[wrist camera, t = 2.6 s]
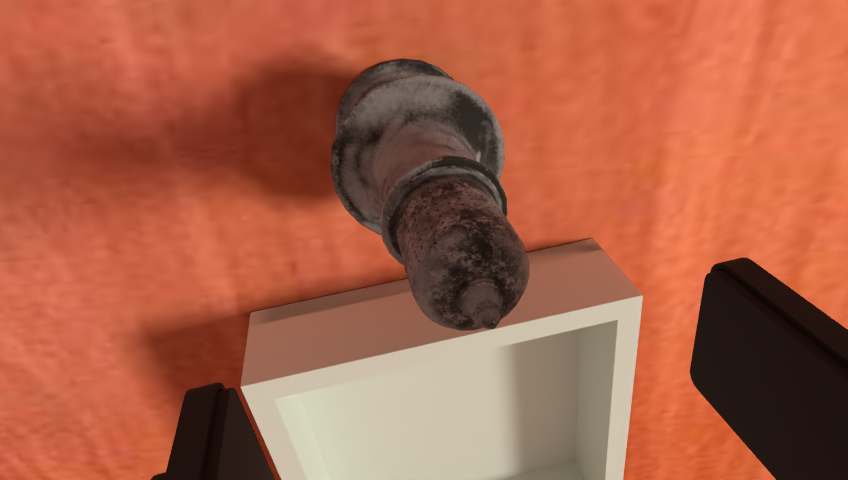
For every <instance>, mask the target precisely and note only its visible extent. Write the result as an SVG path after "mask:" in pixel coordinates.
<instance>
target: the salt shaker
mask: <svg viewBox="0 0 848 480" xmlns="http://www.w3.org/2000/svg"><path fill="white" fill-rule="evenodd" d="M335 135H336V136H335V139H334V142H333V145H332V152H331V174H332V178H333V182H334V187H335V191H336V193H337V195H338V197H339V198H340V200H341V202H342V204H343V205H344V207H345V209H346V210H347V211H348V212H349V213H350V214H351V215H352V216H353V217H354V218H355V219H356V220H357V221H358V222H359V223H360V224H361V225H363V226H365V227H367V228H368V229H370V230H372V231H374V232H376V233H377V234H380V235H382V239H383V242H384V243H385V245H386V247H387V249H388V251H389V253H390V254H391V255H392V256H393V257H394V258H395V259H396V260H397V261H398V262H399V263H400V264H402V265H404V266H405V270H406V273H407V277H408V280H409V284H410V288H411V291H412V295H413V297H414V299H415V301H416V302H417V304H418V306H419V308H420V309H421V310H422V312H423V313H424V314H425V315H426V316H427V317H428V318H429V319H430V320H431V321H433V322H435V323H437V324H439V325H441V326H443V327H446V328H451V329H456V330H460V331H471V330H477V329H482V328H486V329H495V328H496V327H497V325H498V324H499V323H500V320H501V319H503V318H504V317H505V316H507V315H508V314H509V313H510V312H511V311H512V310H513V309H514V308H515V306H516V305H517V304H518V302H519V300H520V298H521V297H522V295H523V293H524V292H525V290H526V287H527V283H528V280H529V260H528V256H527V253H526V250H525V247H524V244H523V242H522V241H521V239H520V238H519V236H518V235H517V233H516V232H515V230H514V229H513V227H512V226H511V224H510V223H509V221H508V220H507V218H506V216H507V198H506V196H505V193H504V190H503V187H502V184H501V183H500V182H499V180H500V177H501V173H502V168H503V164H504V159H505V156H504V137H503V134H502V131H501V128H500V126H499V123H498V120H497V117H496V116H495V114H494V113H493V111H492V110H491V109H490V107H489V106H488V104H487V103H486V102H485V100H484V99H483V98H482V97H480V96H479V95H478V94H476V93H475V92H474V91H473V90H471V89H470V88H469V87H467V86H466V85H464V84H462V83H459V82H457V81H454V80H453V78H451V77H450V76H449V75H448V74H446V73H445V72H444V71H442V70H441V69H440V68H439V67H436V66H434V65H431V64H429V63H426V62H424V61H420V60H410V59H399V60H393V61H387V62H383V63H381V64H379V65H377V66H375V67H373V68H370V69H368V70H366V71H365V72H364V73H363V74H362V75H361V76H359V77H358V78H357V79H356V80H355V81H354V82H352V84H351V85H350V87H349V88H348V90H347V91H346V93H345V94H344V96H343V97H342V99H341V102H340V105H339V108H338V111H337V114H336V125H335Z"/></svg>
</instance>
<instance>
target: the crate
mask: <svg viewBox="0 0 848 480" xmlns="http://www.w3.org/2000/svg"><path fill="white" fill-rule="evenodd" d="M527 256H528V260H529V280H528V283H527V287H526V290H525V292H524V293H523V295H522V297H521V298H520V300H519V302H518V304H517V305H516V306H515V308H514V309H513V310H512V311H511V312H510V313H509V314H508V315H507V316H505V317H504V318H503V319H501V320H500V323H499V324H498V325H497V327H496V328H495V329H486V328H482V329H477V330H471V331H460V330H456V329H451V328H446V327H443V326H441V325H439V324H437V323H435V322H433V321H431V320H430V319H429V318H428V317H427V316H426V315H425V314H424V313H423V312H422V310H421V309H420V308H419V306H418V304H417V302H416V301H415V299H414V297H413V295H412V291H411V288H410V284H409V280H408V278H407V279H403V280H398V281H394V282H389V283H384V284H380V285H375V286H370V287H366V288H361V289H357V290H352V291H347V292H343V293H338V294H333V295H329V296H324V297H320V298H315V299H310V300H306V301H301V302H296V303H292V304H287V305H283V306H278V307H273V308H269V309H264V310H260V311H255V312H251V314H250V321H249V329H248V336H247V343H246V350H245V357H244V365H243V372H242V379H241V386H240V387H241V389H242V392H243V394H244V396H245V398H246V401H247V403H248V405H249V408H250V410H251V412H252V414H253V417H254V419H255V421H256V423H257V426H258V428H259V430H260V432H261V435H262V437H263V439H264V441H265V444H266V446H267V448H268V450H269V453H270V455H271V457H272V459H273V462H274V464H275V466H276V468H277V471H278V473H279V475H280V477H281V480H623V475H624V465H625V456H626V447H627V438H628V429H629V419H630V410H631V401H632V392H633V383H634V374H635V364H636V355H637V346H638V337H639V328H640V318H641V309H642V300H643V295H642V293H641V292H640V291H639V290H638V289H637V288H636V287H635V285H634V284H633V283H632V282H631V281H630V280H629V279H628V278H627V276H626V275H625V274H624V273H623V272H622V271H621V270H620V268H619V267H618V266H617V265H616V264H615V263H614V262H613V261H612V259H611V258H610V257H609V256H608V255H607V254H606V253H605V251H604V250H603V249H602V248H601V247H600V246H599V245H598V244H597V242H596V241H595V240H594V239H593V238H592V239H588V240H583V241H578V242H574V243H569V244H565V245H560V246H555V247H551V248H546V249H541V250H537V251H532V252H528V253H527Z"/></svg>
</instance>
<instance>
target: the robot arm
mask: <svg viewBox="0 0 848 480" xmlns="http://www.w3.org/2000/svg"><path fill="white" fill-rule="evenodd" d="M690 375H691V378H692V381H693V383H694V385H695V387H696V388H697V389H698V390H699V391H700V393H701V394H702V395H703V396H704V397H705V398H706V400H707V401H708V402H709V403H710V404H711V405H712V406H713V408H714V409H715V410H716V411H717V412H718V413H719V414H720V416H721V417H722V418H723V419H724V420H725V421H726V422H727V424H728V425H729V426H730V427H731V428H732V429H733V430H734V432H735V433H736V434H737V435H738V436H739V437H740V439H741V440H742V441H743V442H744V443H745V444H746V445H747V447H748V448H749V449H750V450H751V451H752V452H753V453H754V455H755V456H756V457H757V458H758V459H759V460H760V461H761V463H762V464H763V465H764V466H765V467H766V468H767V469H768V471H769V472H770V473H771V474H772V475H773V476H774V477H775V479H776V480H848V330H847V329H846V328H844V327H843V326H842V325H840V324H839V323H837V322H836V321H835V320H833V319H832V318H831V317H829V316H828V315H826V314H825V313H824V312H822V311H821V310H819V309H818V308H817V307H815V306H814V305H813V304H811V303H810V302H808V301H807V300H806V299H804V298H803V297H802V296H800V295H799V294H797V293H796V292H795V291H793V290H792V289H791V288H789V287H788V286H786V285H785V284H784V283H782V282H781V281H780V280H778V279H777V278H775V277H774V276H773V275H771V274H770V273H768V272H767V271H766V270H764V269H763V268H762V267H760V266H759V265H757V264H756V263H755V262H753V261H752V260H750V259H748V258H738V259H734V260H730V261H726V262H722V263H718V264H715V265H714V266H713V267H712V269H711V272H710V273H708V274H707V275H706V277H705V281H704V287H703V293H702V299H701V305H700V312H699V318H698V324H697V330H696V336H695V342H694V349H693V355H692V361H691V367H690ZM151 480H275V479H274V476H273V474H272V472H271V469H270V467H269V465H268V462H267V460H266V458H265V456H264V453H263V451H262V449H261V446H260V444H259V442H258V440H257V437H256V435H255V433H254V431H253V428H252V426H251V424H250V421H249V419H248V417H247V415H246V412H245V410H244V408H243V405H242V403H241V401H240V399H239V396H238V394H237V392H236V390H235V389H234V388H229V389H225V387H224V385H223V384H222V383H215V384H211V385H207V386H202V387H198V388H194V389H190V390H188V391H187V392H186V394H185V397H184V401H183V405H182V409H181V413H180V417H179V421H178V426H177V430H176V434H175V438H174V442H173V446H172V450H171V454H170V458H169V462H168V466H167V470H166V472H165V473H161V474H158V475H155V476H153V478H152V479H151Z"/></svg>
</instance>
